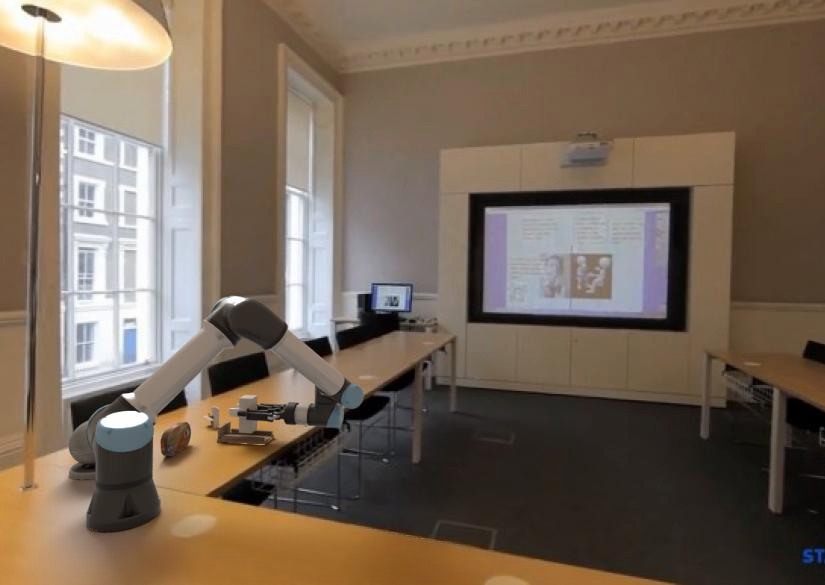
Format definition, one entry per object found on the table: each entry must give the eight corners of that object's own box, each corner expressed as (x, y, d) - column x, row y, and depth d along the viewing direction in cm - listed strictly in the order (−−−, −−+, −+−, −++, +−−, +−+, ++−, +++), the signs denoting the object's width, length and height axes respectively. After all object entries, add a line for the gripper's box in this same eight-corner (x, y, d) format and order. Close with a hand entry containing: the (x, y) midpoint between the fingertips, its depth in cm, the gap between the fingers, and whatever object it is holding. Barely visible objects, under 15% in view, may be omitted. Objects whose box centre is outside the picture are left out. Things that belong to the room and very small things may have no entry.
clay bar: (251, 433, 164) (251, 398, 164) (238, 432, 165) (239, 398, 164) (257, 429, 169) (257, 395, 168) (245, 428, 169) (245, 394, 169)
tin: (168, 460, 147) (168, 433, 147) (158, 460, 147) (158, 433, 147) (191, 443, 162) (192, 418, 162) (182, 443, 162) (182, 418, 162)
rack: (264, 445, 162) (264, 431, 162) (216, 442, 164) (217, 427, 164) (274, 437, 170) (274, 423, 170) (228, 434, 172) (228, 420, 172)
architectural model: (209, 430, 177) (210, 410, 177) (202, 425, 182) (202, 406, 182) (219, 428, 180) (219, 408, 179) (211, 424, 185) (211, 405, 184)
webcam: (119, 475, 136) (120, 423, 135) (64, 483, 130) (64, 428, 129) (123, 459, 147) (123, 411, 147) (72, 465, 141) (73, 415, 141)
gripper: (288, 433, 156) (220, 428, 159) (306, 417, 173) (245, 413, 176) (288, 410, 156) (220, 406, 158) (306, 396, 173) (245, 393, 176)
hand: (233, 410), depth 167 cm, fingers closed on clay bar, 4 cm apart
